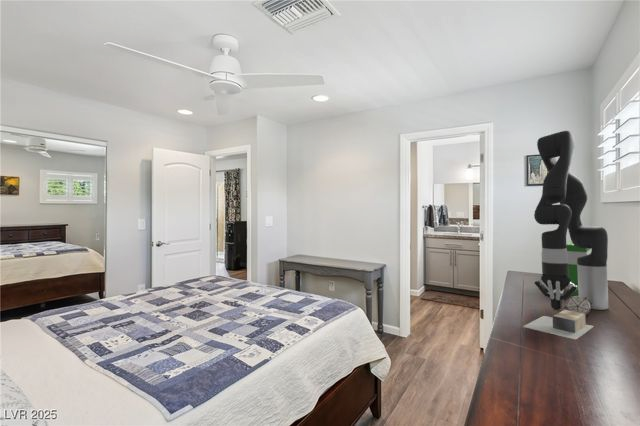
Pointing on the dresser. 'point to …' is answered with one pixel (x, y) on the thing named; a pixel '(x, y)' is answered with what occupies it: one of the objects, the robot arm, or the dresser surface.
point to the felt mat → (547, 326)
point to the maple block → (569, 321)
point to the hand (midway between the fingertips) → (556, 309)
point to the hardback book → (575, 262)
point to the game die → (578, 304)
